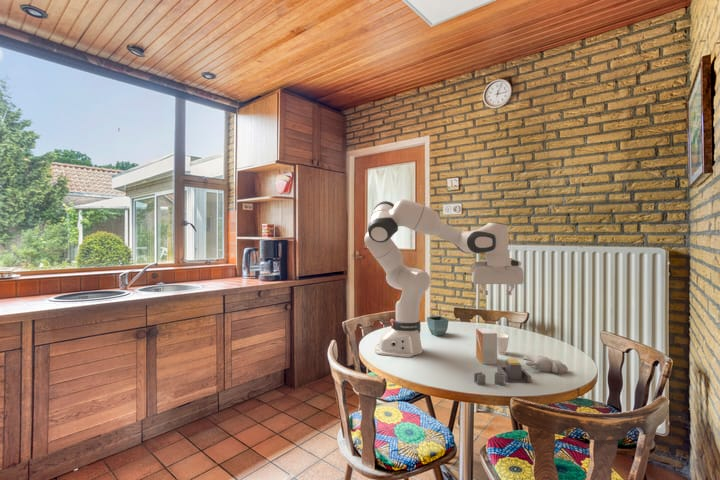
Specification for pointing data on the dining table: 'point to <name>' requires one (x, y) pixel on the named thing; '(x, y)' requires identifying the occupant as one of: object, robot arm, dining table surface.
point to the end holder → (524, 379)
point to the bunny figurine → (546, 364)
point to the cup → (502, 343)
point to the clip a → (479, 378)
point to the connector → (513, 368)
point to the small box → (486, 345)
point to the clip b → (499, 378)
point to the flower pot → (437, 325)
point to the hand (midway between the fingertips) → (497, 294)
